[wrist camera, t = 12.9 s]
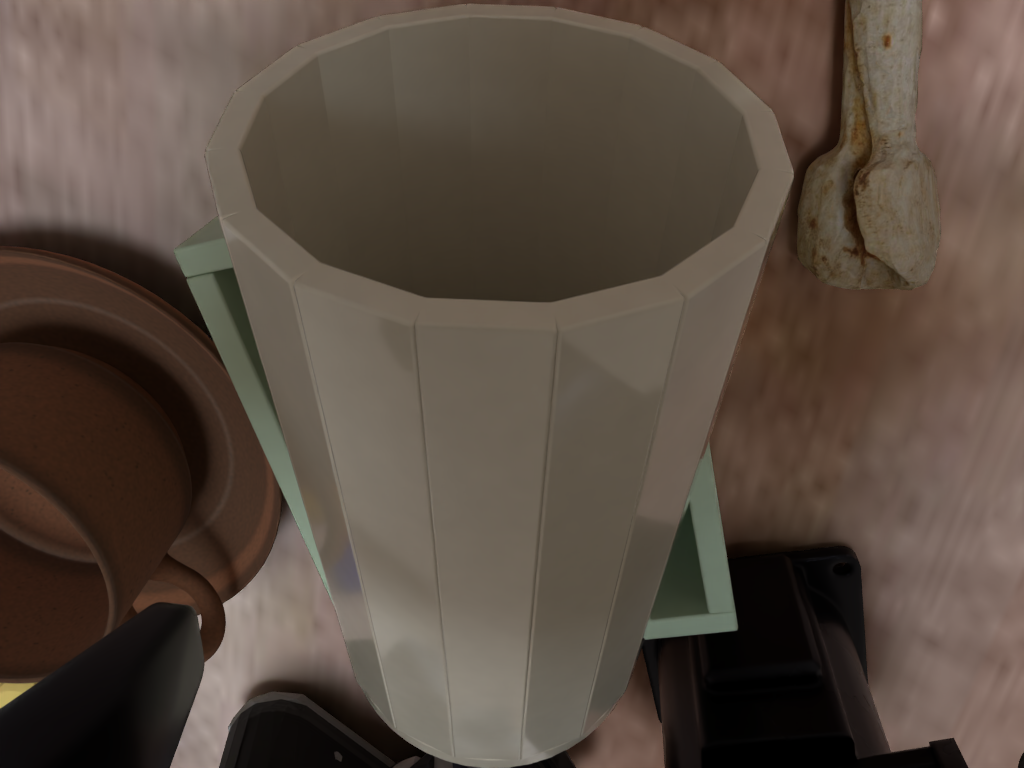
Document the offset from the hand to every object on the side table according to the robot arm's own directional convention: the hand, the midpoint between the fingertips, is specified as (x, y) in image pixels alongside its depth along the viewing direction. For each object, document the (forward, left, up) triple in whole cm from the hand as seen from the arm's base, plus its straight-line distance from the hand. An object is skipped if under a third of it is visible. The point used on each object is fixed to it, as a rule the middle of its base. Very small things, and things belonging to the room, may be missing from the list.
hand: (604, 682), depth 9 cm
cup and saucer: (-2, +15, -13) cm, 20 cm away
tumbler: (-6, +4, -8) cm, 10 cm away
